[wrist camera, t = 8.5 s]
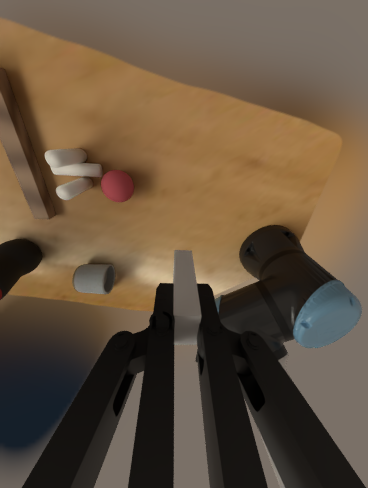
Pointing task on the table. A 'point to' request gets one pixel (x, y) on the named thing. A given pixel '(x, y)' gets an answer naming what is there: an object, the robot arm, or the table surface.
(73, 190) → the pin
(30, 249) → the cola bottle
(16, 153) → the back rail
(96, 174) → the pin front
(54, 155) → the pin
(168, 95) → the table surface
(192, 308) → the robot arm
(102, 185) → the ball
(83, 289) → the ceramic mug
